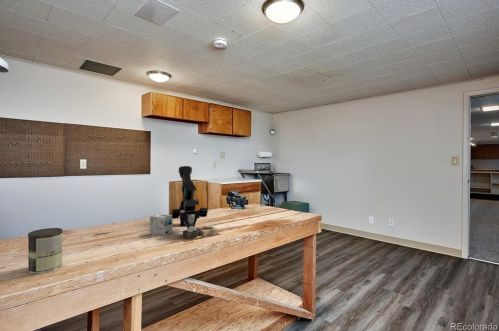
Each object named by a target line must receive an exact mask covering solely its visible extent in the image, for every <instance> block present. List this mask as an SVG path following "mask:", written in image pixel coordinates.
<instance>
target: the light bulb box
mask: <svg viewBox="0 0 499 331" xmlns="http://www.w3.org/2000/svg"><path fill="white" fill-rule="evenodd" d="M149 218H150V219H149V224H150V225H149V230H150V231H149V235H152V236H154V235H160V236H166V235H168V234H171V233H173V219H172V214H171V215H170V214H164V213H163V214H162V213H157V214H151V215H150V217H149Z"/></svg>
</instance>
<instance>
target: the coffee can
mask: <svg viewBox="0 0 499 331" xmlns="http://www.w3.org/2000/svg"><path fill="white" fill-rule="evenodd" d="M63 230H64V229H63V228H60V227H49V228H48V227H47V228H41V229H37V230H36V229H35V230H32V231H30V232H28V233H27V236H28V237H27V239H28V240H27V244H28V246H27V247H28V249H27V252H28V253H27V254H28V256H27V258H28V262H27V266H28V267H27V268H28V269H27V272H28V274H32V275H39V274H40V275H41V274H47V273H50V272H54V271H56V270H59V269H60V268H61V267H62V266H63V232H64V231H63Z"/></svg>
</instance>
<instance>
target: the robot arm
mask: <svg viewBox="0 0 499 331" xmlns="http://www.w3.org/2000/svg"><path fill="white" fill-rule="evenodd" d="M192 169H193V167H192V166H189V165H182V166H179V167H178V174H179V177H180V178H181V187H180V188H181V189H180V192H181V193H182V194H181V196H182V200H181V202H180V204H179V207H178V208H172V209H171V216H172V220H174V219H175V220H176V219H179V222H180V223H179V227H186V228H187V227H188V214H194V228H196V223H197V221H198V219H200V218H207V217H208V211H209V210H208V208H207V207H200V208H199V210H198V209H197V208H196V206H199V203H200V202H199V201H200V200H199V198H195V197H194V196H195V192H196V191H197V187H196V185H195V184H194V182H193V181H192V179H191V175H192V173H193V170H192ZM196 209H197V210H196Z"/></svg>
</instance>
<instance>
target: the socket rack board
mask: <svg viewBox="0 0 499 331" xmlns="http://www.w3.org/2000/svg"><path fill="white" fill-rule="evenodd" d="M221 235H223V234H221V233H219V228H217V227H214V226H212V225H205V226H200V227H199V226H198V227H195V229H194V232H192V233H187V230H186V229H185V230H182V234H180V235H176V236H174V237H175V238H176V239H179V240H181V241H182V242H184V243H188V242H193V241H196V240H201V239H202V240H203V239H207V238H212V237H217V236H221Z"/></svg>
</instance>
